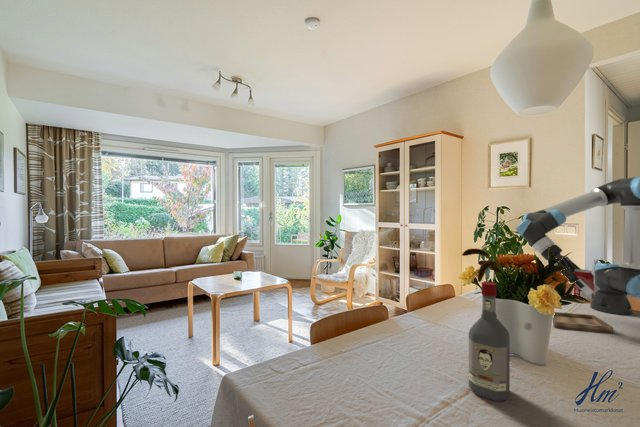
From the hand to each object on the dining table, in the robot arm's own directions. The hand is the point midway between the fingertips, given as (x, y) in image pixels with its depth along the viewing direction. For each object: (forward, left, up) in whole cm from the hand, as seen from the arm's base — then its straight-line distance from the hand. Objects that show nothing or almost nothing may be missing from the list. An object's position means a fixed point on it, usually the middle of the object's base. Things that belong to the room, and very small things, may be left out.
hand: (593, 292), depth 125 cm
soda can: (+3, -2, -4) cm, 5 cm away
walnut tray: (+4, -7, -16) cm, 18 cm away
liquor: (+50, +59, -16) cm, 79 cm away
